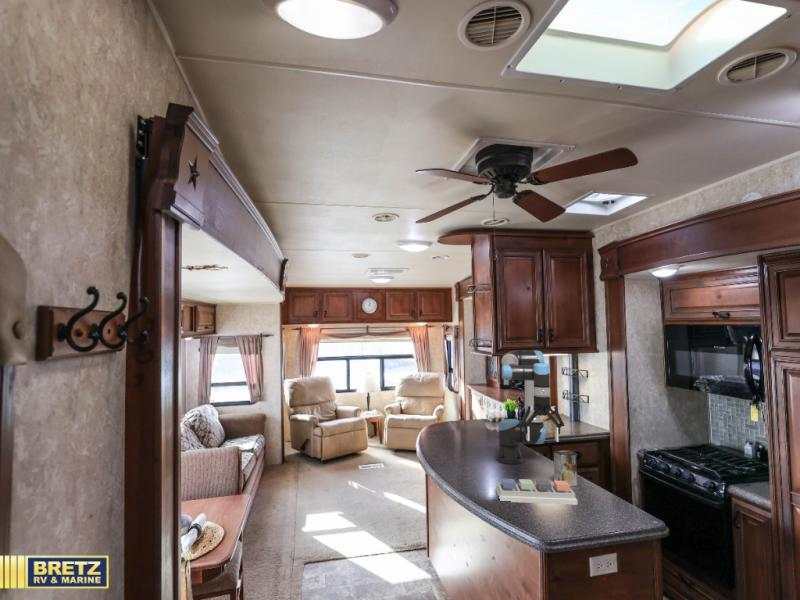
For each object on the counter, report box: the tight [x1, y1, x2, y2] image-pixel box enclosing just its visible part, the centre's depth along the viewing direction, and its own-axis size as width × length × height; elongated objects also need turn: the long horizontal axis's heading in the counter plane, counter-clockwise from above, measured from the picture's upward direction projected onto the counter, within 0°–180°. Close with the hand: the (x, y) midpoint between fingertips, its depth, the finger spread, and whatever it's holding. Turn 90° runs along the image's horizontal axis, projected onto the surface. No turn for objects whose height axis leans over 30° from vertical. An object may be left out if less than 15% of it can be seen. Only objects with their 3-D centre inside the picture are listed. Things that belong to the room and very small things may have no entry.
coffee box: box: [553, 449, 578, 487], centre depth 215 cm, size 9×6×16 cm
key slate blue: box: [501, 478, 517, 489], centre depth 200 cm, size 6×6×2 cm
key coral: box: [553, 479, 571, 491], centre depth 198 cm, size 6×6×2 cm
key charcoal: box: [535, 479, 553, 490], centre depth 198 cm, size 6×6×2 cm
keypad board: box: [495, 482, 579, 506], centre depth 198 cm, size 13×34×4 cm, turn 85°
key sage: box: [518, 478, 535, 490], centre depth 199 cm, size 6×6×2 cm
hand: (542, 440), depth 205 cm, fingers open, 13 cm apart
